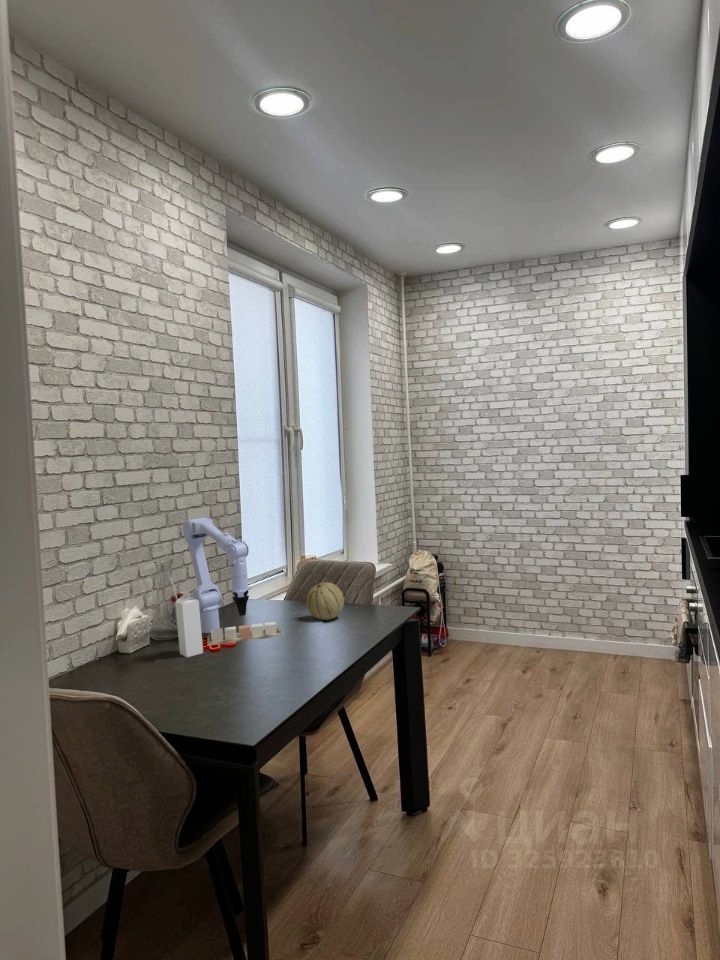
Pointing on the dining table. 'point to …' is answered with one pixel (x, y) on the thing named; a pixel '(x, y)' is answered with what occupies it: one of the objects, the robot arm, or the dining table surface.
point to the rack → (238, 639)
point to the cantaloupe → (325, 601)
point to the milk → (189, 625)
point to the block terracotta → (244, 631)
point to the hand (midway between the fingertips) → (242, 612)
